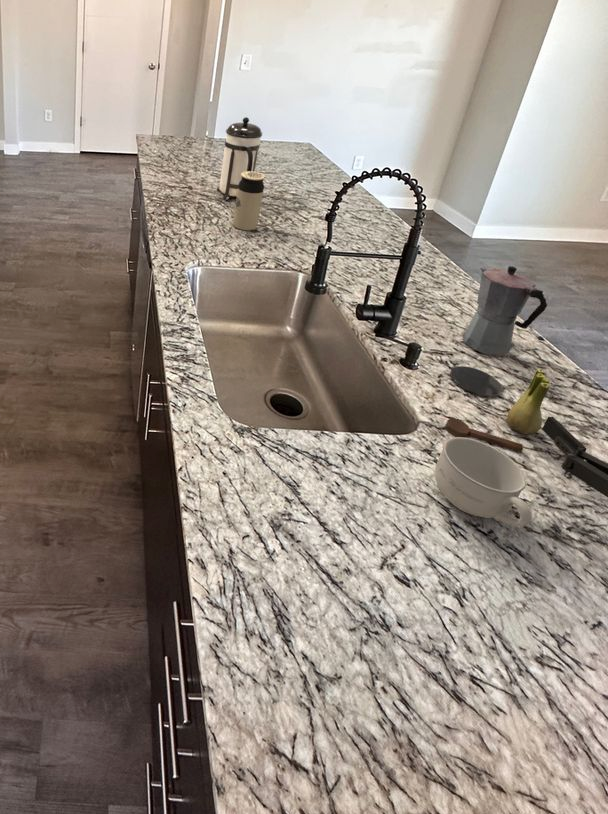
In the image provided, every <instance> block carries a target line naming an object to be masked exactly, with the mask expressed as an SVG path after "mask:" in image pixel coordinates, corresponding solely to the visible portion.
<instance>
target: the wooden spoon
mask: <svg viewBox="0 0 608 814" xmlns="http://www.w3.org/2000/svg"><path fill="white" fill-rule="evenodd" d="M444 428H445V429H446V432H448V433H449V434H450V435H452V436H454V437H463V438H469V437H470V438H471V439H475V440H478V441H481V442H484V443H487V444H488V443H489V444H492V445H495V446H497V447H502V448H504V449H508V450H511V451H513V452H514V451H515V452H516V453H520V454H521V453H522V452H523V450H524V447H523V443H518V442H516V441H513V440H509V439H507V438H503V437H500V436H497V435H494V434H490V433H487V432H484V431H481V430H477V429H474V428H471V427H470V426H469V425H468V424H467V423H466V422H464V421H462V420H460V419H458V418H448V419H447V421H446V423H445V426H444Z"/></svg>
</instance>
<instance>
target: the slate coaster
mask: <svg viewBox="0 0 608 814" xmlns="http://www.w3.org/2000/svg"><path fill="white" fill-rule="evenodd" d="M449 376H450V379H451V381H452V382H453V383H454V384H455V385H456V386H458V388H460V389H462V390H463V391H465V392H467V393H470V394H471V395H474V396H477V397H481V398H489V399H492V398H497V397H500V395H501V394H502V392H503V386H502V384H501V383H500V382H499V381H498V380H497V379H496V378H495V377H493V376H492V375H491V374H489V373H487V372H485V371H483V370H481V369H478V368H475V367H472V366H464V365H461V366H460V365H458V366H455V367H453V368H451V371H450V373H449Z"/></svg>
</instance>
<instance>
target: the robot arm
mask: <svg viewBox="0 0 608 814" xmlns="http://www.w3.org/2000/svg"><path fill="white" fill-rule="evenodd" d="M541 430H542V431H543V432H544V433H545V434H546V435H547V436H548V437H549V438H550V439H551V440H552V441H553V444H554V446H555V447H556V448H557V449H558V450H559V451H560V452H561V453H562V454H563V455H564V456H565V458H564V460H563V462H562V464H561V468H562V469H563V470H564V471H566V472H567V473H569V474H570V475H572V476H573V477H575V478H577V479H578V480H580V481H581V482H583V483H584V484H586V485H587V486H589V487H591V488H592V489H593V490H595V491H596V492H597V493H600V494H601V495H603V496H604V497H605V498H607V499H608V462H607V461H604V460H602V459H600V458H598V457H596V456H594V455H592V454H590V453H587V452H586V451H587V449H588V448H587V447H586V446H585V445H583V443H581V442H580V441H579V440H578V439H577V438H576V437H575V436H574V435H573V434H572V433H571V432H570V431H569V430H568V429H566V427H564V425H563V424H561V422H559V421H558V420H557V419H556V418H555V417H554V416H547V418H546V420H545V422H544V424H543V425H542V428H541Z"/></svg>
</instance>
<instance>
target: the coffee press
mask: <svg viewBox="0 0 608 814" xmlns="http://www.w3.org/2000/svg"><path fill="white" fill-rule="evenodd" d="M225 134H226V136H225V140H224V151H223V157H222V165H221V173H220V179H219V180H220V181H219V186H217V187H216V191H217V192H221V193H222V194H224V195H223V197H222V199H223V200H224V201H228V200H229V198H230V197H236V198H237V192H238V186H239V182H240V181H241V179H242V176H241V173H243V172H247V171H252V172H256V167H257V161H258V155H259V150H260V146H261V139H262V136H263V132H262V130H261V128H260V127H259V126H258V125H256V124H253V123H250V119H249V117H247V116H245V117H243V118H242V122H234V123H231V124H230V125H229V126H228V127H227V128H226V130H225Z"/></svg>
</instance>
